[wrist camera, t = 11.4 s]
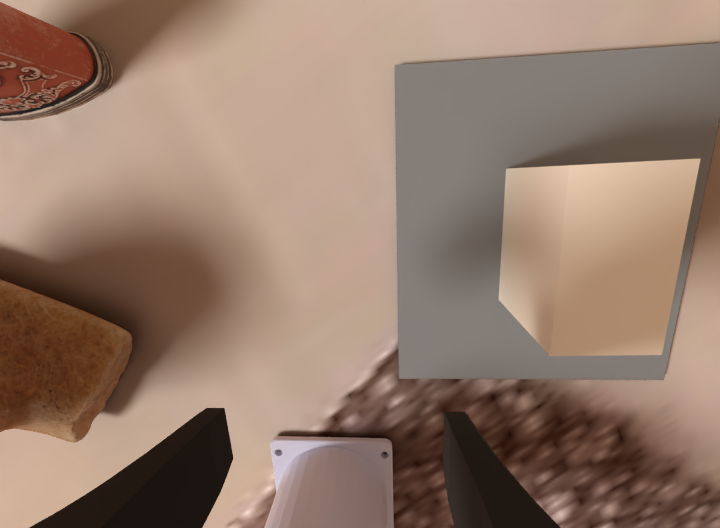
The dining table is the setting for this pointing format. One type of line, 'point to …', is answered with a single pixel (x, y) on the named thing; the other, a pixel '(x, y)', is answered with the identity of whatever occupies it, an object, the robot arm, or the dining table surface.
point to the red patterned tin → (46, 67)
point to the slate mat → (522, 150)
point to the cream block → (595, 253)
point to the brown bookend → (55, 364)
